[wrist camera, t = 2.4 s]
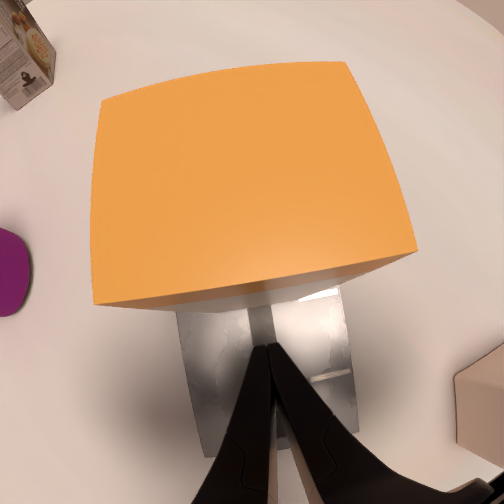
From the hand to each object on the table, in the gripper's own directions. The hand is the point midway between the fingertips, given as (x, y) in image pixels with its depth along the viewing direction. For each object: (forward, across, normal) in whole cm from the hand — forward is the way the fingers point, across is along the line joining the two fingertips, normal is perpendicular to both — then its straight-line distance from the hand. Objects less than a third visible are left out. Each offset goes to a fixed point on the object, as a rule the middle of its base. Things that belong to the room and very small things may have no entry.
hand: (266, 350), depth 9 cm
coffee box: (+30, +24, -16) cm, 42 cm away
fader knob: (+8, 0, +2) cm, 8 cm away
